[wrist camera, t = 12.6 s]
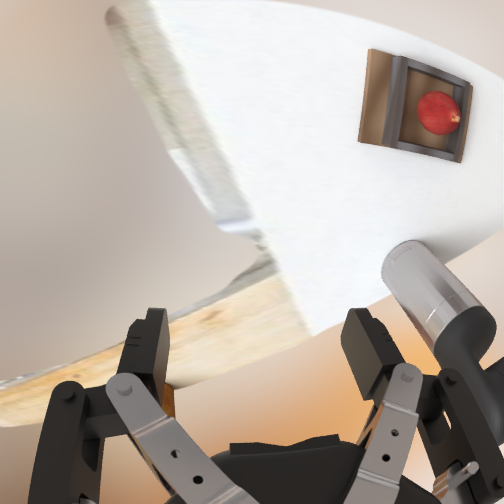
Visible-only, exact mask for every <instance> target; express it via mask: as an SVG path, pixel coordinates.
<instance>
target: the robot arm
mask: <svg viewBox="0 0 504 504" xmlns="http://www.w3.org/2000/svg"><path fill="white" fill-rule="evenodd" d="M382 279H383V281H384V283H385V284H386V286H387V287H388V288H389V290H390V291H391V293H392V294H393V295H394V297H395V299H396V300H397V301H398V303H399V304H400V305H401V307H402V308H403V310H404V311H405V313H406V314H407V316H408V317H409V319H410V320H411V322H412V323H413V325H414V326H415V328H416V329H417V331H418V332H419V334H420V335H421V337H422V338H423V340H424V341H425V343H426V344H427V346H428V347H429V349H430V350H431V352H432V354H433V355H434V356H435V358H436V360H437V361H438V363H439V365H440V366H441V369H442V370H441V371H440V372H439V374H438V375H437V376H434V375H425V374H422V373H421V371H420V370H419V369H418V368H417V367H416V366H414V365H412V364H409V363H406V362H405V360H404V359H403V357H402V355H401V353H400V351H399V350H398V348H397V346H396V344H395V342H394V341H393V339H392V337H391V336H390V335H389V332H388V330H387V329H386V327H385V325H384V324H383V323H382V322H380V321H379V320H378V319H377V318H372V316H371V314H370V312H369V311H368V309H367V308H351V309H350V310H349V311H348V314H347V317H346V321H345V324H344V327H343V330H342V334H341V345H342V348H343V350H344V353H345V355H346V358H347V360H348V363H349V365H350V367H351V370H352V372H353V375H354V377H355V380H356V382H357V385H358V387H359V390H360V392H361V395H362V397H363V400H364V401H365V400H371V399H373V401H374V405H373V406H372V409H371V411H370V414H369V416H368V418H367V421H366V423H365V426H364V428H363V430H362V432H361V435H360V437H359V439H358V441H357V442H356V444H353V443H350V442H345V441H340V439H339V436H338V434H334V435H327V436H320V437H313V438H310V439H307V440H305V441H302V442H299V443H296V444H293V445H290V446H279V445H271V444H265V443H259V442H254V443H230V449H229V450H228V451H224V452H221V453H218V454H216V455H214V456H212V457H210V458H209V457H208V456H207V455H206V454H205V453H204V452H203V451H202V449H200V447H199V446H198V445H197V444H196V443H195V442H194V441H193V440H192V438H191V437H190V436H189V435H188V434H187V433H186V431H185V430H184V429H183V428H182V427H181V425H180V424H179V423H178V422H177V421H176V420H175V419H174V418H173V417H172V416H168V415H167V414H166V413H165V412H164V411H163V410H162V404H163V395H164V386H165V378H166V370H167V363H168V355H169V348H170V335H169V327H168V318H167V310H166V309H165V308H149V309H148V311H147V315H146V319H145V320H142V319H136V321H135V322H134V323H133V324H132V325H131V326H130V327H129V331H128V334H127V338H126V341H125V346H124V348H123V351H122V355H121V359H120V362H119V366H118V370H117V373H116V375H114V376H113V377H111V378H110V379H109V380H108V382H107V384H105V385H102V386H99V387H92V388H86V389H84V388H83V387H82V385H81V384H79V383H78V382H75V381H65V382H62V383H60V384H58V385H57V386H56V387H55V388H54V390H53V392H52V394H51V398H50V401H49V405H48V408H47V412H46V416H45V419H44V423H43V427H42V431H41V435H40V439H39V444H38V448H37V453H36V457H35V462H34V467H33V472H32V478H31V484H30V490H29V496H28V504H99V495H100V481H101V470H102V459H103V450H104V442H105V438H106V437H112V436H118V435H124V434H126V435H127V436H128V438H129V439H130V441H131V442H132V443H133V445H134V447H135V448H136V449H137V451H138V452H139V454H140V455H141V456H142V458H143V459H144V461H145V462H146V463H147V465H148V466H149V468H150V469H151V471H152V472H153V474H154V475H155V477H156V478H157V479H158V481H159V482H160V483H161V485H162V486H163V487H164V488H165V490H166V491H167V492H168V493H169V495H170V496H171V498H169V500H168V501H167V502H166V503H165V504H494V503H495V502H497V501H499V500H500V499H502V498H503V497H504V458H503V456H502V453H501V451H500V449H499V447H498V446H500V445H501V444H503V443H504V357H503V358H501V359H500V360H498V361H497V362H495V363H494V364H493V365H491V366H490V367H488V368H487V369H485V370H483V369H482V368H481V366H480V364H479V361H480V359H481V358H482V357H483V355H484V354H485V353H486V352H487V350H488V349H489V347H490V345H491V344H492V342H493V340H494V337H495V334H496V327H497V326H496V321H495V319H494V318H493V316H492V315H491V314H490V313H489V312H488V311H487V309H486V308H485V307H484V306H483V305H482V304H481V303H480V302H479V300H477V298H476V297H475V296H474V295H473V294H472V293H471V292H470V291H469V290H468V289H467V288H466V287H465V286H464V285H463V283H461V281H460V280H459V279H458V278H457V277H456V276H455V275H454V274H453V273H452V272H451V271H450V270H449V269H448V268H447V267H446V266H445V265H444V264H443V263H442V262H441V261H440V260H439V259H438V258H437V257H436V256H435V255H434V254H433V253H432V252H431V251H430V250H429V249H428V248H426V247H425V246H424V245H423V244H422V243H420V242H418V241H407V242H404V243H402V244H400V245H398V246H397V247H395V248H394V249H393V250H392V251H391V252H390V253H389V255H388V256H387V257H386V259H385V261H384V264H383V267H382ZM444 411H445V412H446V414H447V416H448V418H449V421H450V423H451V429H450V427H449V425H448V423H447V421H446V418H445V416H444V414H443V412H444ZM416 426H417V428H418V431H419V433H420V436H421V439H422V441H423V444H424V447H425V450H426V452H427V455H428V458H429V460H430V464H431V466H432V469H433V472H434V475H435V478H436V480H435V481H434V484H433V491H432V493H430V492H428V491H427V490H425V489H423V488H421V487H420V486H419V485H417V484H416V483H414V482H413V481H411V480H409V479H408V478H406V477H405V476H403V475H402V472H403V469H404V466H405V463H406V460H407V457H408V453H409V451H410V447H411V444H412V440H413V437H414V433H415V430H416Z"/></svg>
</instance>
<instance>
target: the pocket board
mask: <svg viewBox="0 0 504 504" xmlns="http://www.w3.org/2000/svg"><path fill="white" fill-rule="evenodd" d="M472 89H473V86H472V85H470V83H469V82H467V81H465V80H463V79H460V78H458V77H456V76H454V75H451V74H449V73H446V72H444V71H442V70H439V69H437V68H434V67H431V66H429V65H426V64H423V63H421V62H418V61H415V60H412V59H409V58H406V57H403V56H394V55H391V54H388V53H384V52H381V51H377V50H374V49H368V57H367V68H366V78H365V88H364V97H363V105H362V113H361V121H360V128H359V135H358V142H361V143H367V144H373V145H379V146H384V147H390V148H395V149H400V150H405V151H410V152H415V153H419V154H424V155H428V156H433V157H437V158H441V159H445V160H449V161H453V162H457V163H461V160H462V155H463V150H464V145H465V139H466V133H467V127H468V121H469V114H470V107H471V98H472ZM430 91H442V92H444V93H446V94H448V95H450V96H451V97H452V98H453V99H454V100H455V101H456V103H457V104H458V106H459V109H460V112H461V121H460V123H459V126H458V127H457V128H456V130H455V131H453V132H452V133H450V134H448V135H435V134H433V133H431V132H429V131H427V130H426V129H425V128H424V127H423V125H422V124H421V123H420V121H419V118H418V116H417V104H418V101H419V100H420V98H421V97H422V96H423V94H425V93H427V92H430Z"/></svg>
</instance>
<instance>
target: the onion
mask: <svg viewBox="0 0 504 504" xmlns="http://www.w3.org/2000/svg"><path fill="white" fill-rule="evenodd" d="M417 116H418V118H419V121H420V123H421V124H422V125H423V127H424V128H425V129H426V130H427V131H429V132H431V133H433V134H435V135H448V134H450V133H452V132H453V131H455V130H456V128H457V127H458V126H459V123H460V121H461V112H460V109H459V106H458V104H457V103H456V101H455V100H454V99H453V98H452V97H451V96H450V95H448V94H446V93H444V92H442V91H430V92H427V93H425V94H423V96H422V97H421V98H420V100H419V101H418V104H417Z"/></svg>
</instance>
